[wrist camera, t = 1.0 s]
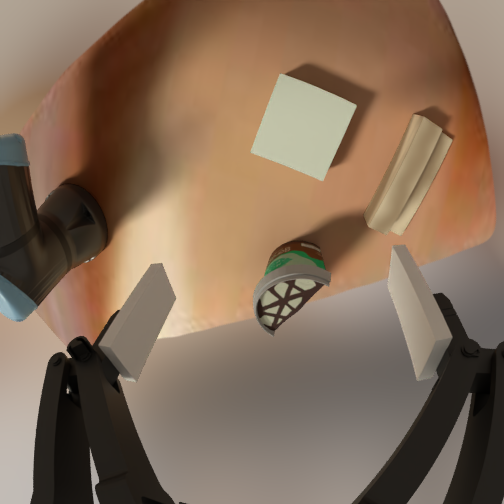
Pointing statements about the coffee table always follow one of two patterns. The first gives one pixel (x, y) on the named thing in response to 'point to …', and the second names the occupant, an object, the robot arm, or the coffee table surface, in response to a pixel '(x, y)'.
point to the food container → (288, 283)
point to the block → (302, 127)
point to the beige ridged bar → (407, 176)
